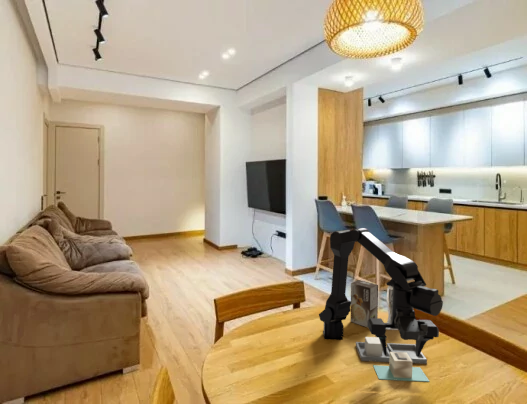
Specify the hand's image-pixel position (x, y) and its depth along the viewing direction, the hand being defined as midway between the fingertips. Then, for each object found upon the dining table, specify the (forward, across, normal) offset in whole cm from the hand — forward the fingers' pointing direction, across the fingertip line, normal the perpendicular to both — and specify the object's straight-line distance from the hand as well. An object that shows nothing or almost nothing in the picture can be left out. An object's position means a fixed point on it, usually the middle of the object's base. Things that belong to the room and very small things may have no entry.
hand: (401, 355), depth 100 cm
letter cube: (+5, 0, 0) cm, 5 cm away
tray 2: (+6, +5, +11) cm, 14 cm away
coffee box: (+6, -3, +36) cm, 37 cm away
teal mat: (+6, 0, 0) cm, 6 cm away
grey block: (+6, -5, +11) cm, 14 cm away
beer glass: (+6, +9, +35) cm, 37 cm away
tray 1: (+6, -5, +11) cm, 14 cm away
